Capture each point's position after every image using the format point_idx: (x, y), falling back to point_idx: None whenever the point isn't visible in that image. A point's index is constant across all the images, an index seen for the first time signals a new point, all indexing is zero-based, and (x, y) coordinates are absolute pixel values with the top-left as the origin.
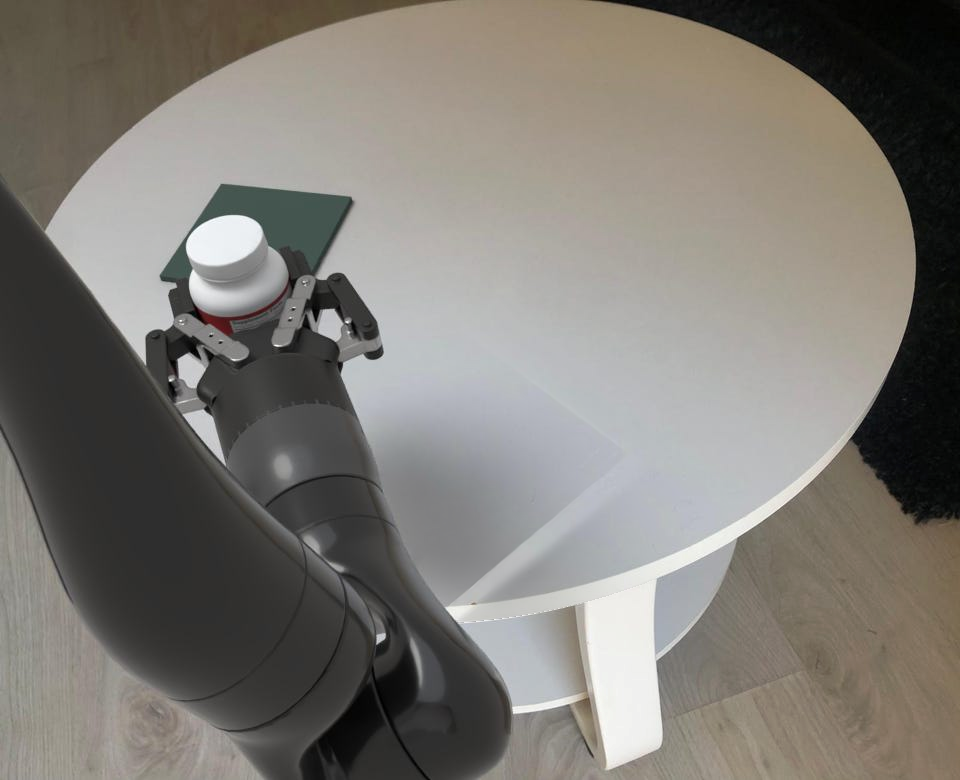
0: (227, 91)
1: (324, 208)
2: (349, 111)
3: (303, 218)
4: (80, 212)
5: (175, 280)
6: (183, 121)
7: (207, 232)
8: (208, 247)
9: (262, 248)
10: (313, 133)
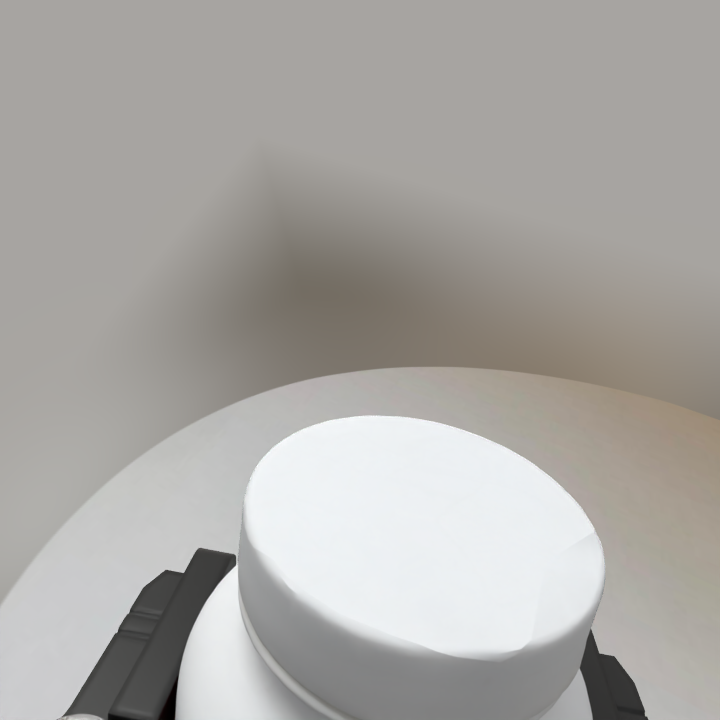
0: (436, 377)
1: None
2: (552, 441)
3: None
4: (247, 408)
5: (197, 550)
6: (386, 382)
7: (370, 447)
8: (343, 502)
9: (584, 636)
10: (508, 444)
